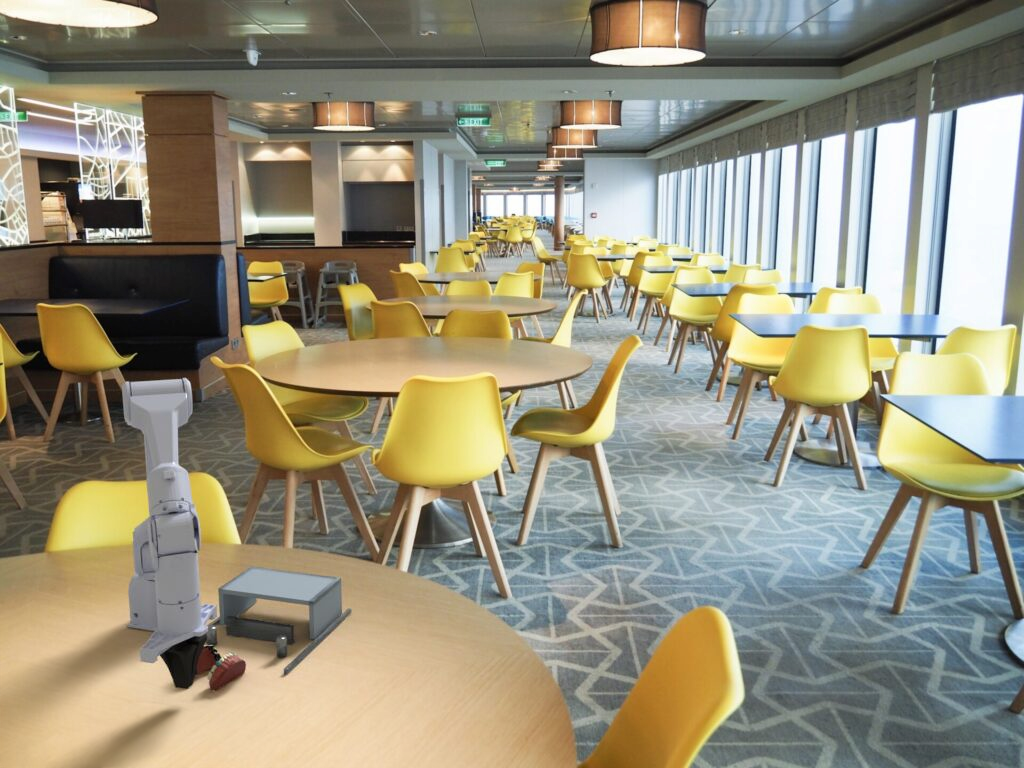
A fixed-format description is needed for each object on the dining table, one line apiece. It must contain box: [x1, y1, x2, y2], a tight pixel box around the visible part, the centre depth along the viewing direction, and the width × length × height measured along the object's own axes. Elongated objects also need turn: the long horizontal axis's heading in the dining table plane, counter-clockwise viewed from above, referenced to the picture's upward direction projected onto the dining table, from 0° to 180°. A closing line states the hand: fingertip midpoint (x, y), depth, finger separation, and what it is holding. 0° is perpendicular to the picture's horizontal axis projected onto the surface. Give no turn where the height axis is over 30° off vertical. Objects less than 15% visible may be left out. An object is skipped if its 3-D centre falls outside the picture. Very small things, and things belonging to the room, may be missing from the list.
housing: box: [218, 566, 343, 640], centre depth 149 cm, size 18×10×7 cm, turn 75°
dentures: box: [194, 644, 247, 692], centre depth 131 cm, size 6×5×9 cm
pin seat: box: [205, 607, 352, 675], centre depth 145 cm, size 20×22×3 cm
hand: (184, 685), depth 124 cm, fingers closed
